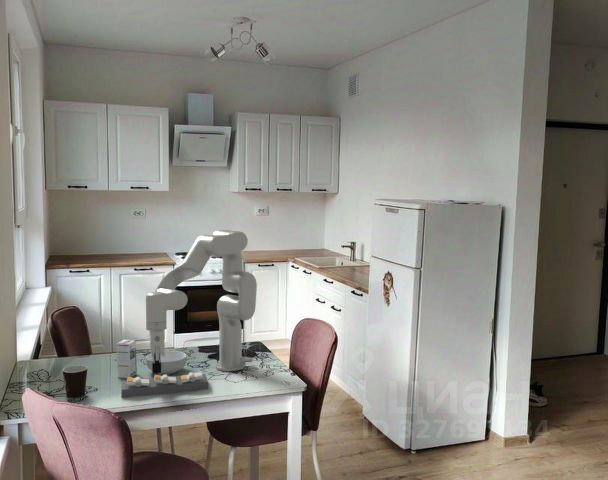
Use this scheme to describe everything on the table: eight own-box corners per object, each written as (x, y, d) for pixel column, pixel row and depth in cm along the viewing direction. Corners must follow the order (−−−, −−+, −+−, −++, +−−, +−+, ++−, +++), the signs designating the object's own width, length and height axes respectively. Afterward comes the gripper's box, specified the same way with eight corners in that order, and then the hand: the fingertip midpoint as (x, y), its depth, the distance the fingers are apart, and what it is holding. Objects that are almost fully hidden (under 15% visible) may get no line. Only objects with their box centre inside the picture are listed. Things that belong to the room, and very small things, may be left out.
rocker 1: (148, 383, 218) (149, 377, 218) (148, 387, 214) (149, 381, 214) (126, 382, 215) (127, 375, 215) (126, 385, 211) (127, 379, 211)
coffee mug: (84, 398, 209) (83, 372, 208) (59, 399, 208) (59, 372, 207) (93, 387, 220) (92, 362, 219) (70, 388, 219) (69, 362, 219)
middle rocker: (174, 381, 221) (175, 375, 221) (175, 385, 217) (176, 379, 217) (153, 379, 218) (154, 373, 218) (154, 383, 214) (155, 377, 214)
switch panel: (205, 381, 229) (204, 373, 229) (208, 389, 220) (208, 381, 219) (121, 388, 220) (121, 380, 219) (121, 397, 210) (121, 388, 210)
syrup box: (130, 378, 231) (129, 343, 230) (116, 377, 232) (116, 342, 231) (136, 374, 237) (136, 340, 235) (123, 373, 238) (123, 339, 237)
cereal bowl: (172, 380, 230) (172, 363, 229) (137, 375, 235) (137, 358, 235) (194, 368, 245) (194, 352, 245) (161, 363, 251) (161, 348, 250)
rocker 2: (201, 375, 224) (200, 369, 223) (203, 379, 220) (202, 373, 219) (181, 380, 222) (180, 374, 221) (182, 384, 217) (181, 378, 217)
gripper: (168, 329, 209) (168, 377, 210) (165, 320, 223) (165, 365, 224) (146, 330, 206) (147, 379, 208) (145, 321, 221) (145, 367, 222)
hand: (156, 372), depth 216 cm, fingers closed
